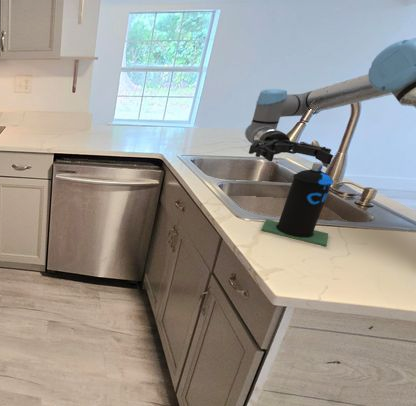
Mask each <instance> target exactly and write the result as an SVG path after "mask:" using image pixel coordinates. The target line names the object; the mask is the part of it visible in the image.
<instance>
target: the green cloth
mask: <svg viewBox="0 0 416 406" xmlns="http://www.w3.org/2000/svg"><path fill="white" fill-rule="evenodd" d="M278 223H279V221H277V220H272V219H268V218H266V219H265V220H264V223H263V224H262V227H261V229H260V230H261V232H265V233H269V234H274V235H278V236H282V237H285V238H289V239H294V240H299V241H302V242H307V243H311V244H314V245H318V246H321V247H327V245H328V240H329V239H328V238H329V232H325V231H320V230H315V229H314V231H313V233H314V235H313V236H311V237H296V236H292V235H288V234H285V233H283V232H281V231H279V230H278V229H277V227H276V225H277V224H278Z"/></svg>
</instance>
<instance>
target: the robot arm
mask: <svg viewBox="0 0 416 406" xmlns="http://www.w3.org/2000/svg"><path fill="white" fill-rule="evenodd" d="M327 91H328V92H327ZM391 95H393V96H394V97H395V99H396V100H397V101H398V103H399V104H400V105H401V106H404V107H414V108H415V109H416V37H413V38H410V39H402V40H399V41H396V42H393V43H391V44H390V45H388V46H386V47H385V48H383V49H382V50H381V51H380V52H379V53H377V55H376V56H375V57H374V59H373V60H372V62H371V65H370V67H369V69H368V72H367V74H364V75H360V76H357V77H354V78H350V79H347V80H343V81H340V82H337V83H334V84H333V83H332V84H330V85H327V86H324V87H320V88H317V89H314V90H310V91H307V92H302V93H296V94H295V93H293V94H288V90H286V89H281V88H277V89H276V88H265V89H262V90H261V91H260V92H259V95H258V96H257V100H256V104H255V109H254V112H253V117H252V120H251V123H250V124H249V125H248V126H247V127H246V129H245V131H244V137H245V138H246V140H247V141H248V142H249V143H251V144H250V146H249V149H248V154H250V155H253V154H254V153H255V157H256V158H260V157H263V158H264V159H265V160H267V161H268V162H273V160H274V156H275V155H279V154H282V153H283V154H284V153H287V154H292V155H295V154H301V155H304V156H309V157H314V158H315V159H316V160H318V161H319V162H320V163H323V164H325V165H329V166H330V165H331V162H332V160H333V156H334V155H333V154H332V153H331V152H332V148H328V147H326V146H319V145H316V144H311V143H307V142H305V141H300V142H298V141H292V140H291V139H290V137H289V135H288V134H286V133H285V132H283V131H280V130H279V129H278V125H279V123H280V119H281V118H283V117H284V118H285V117H304V116H303V114H304V113H305V112H306V110H308V109H309V108H310V109H312V110H313V109H314V108H315V109H316V108H317V107H318V108H317V109H316V110H315V109H314V110H315V112H314V113H313V112H312V113H313V115H318V114H320V113H321V112H322V111H327V110H331V109H335V108H336V109H337V108H339V107H345V106H349V105H354V104H358V103H361V102H365V101H370V100H374V99H380V98H382V97H387V96H391ZM319 96H320V97H319ZM314 100H315V101H314ZM313 101H314V102H313ZM312 102H313V103H312ZM311 103H312V104H313V105H312V104H311ZM310 105H311V106H310ZM309 106H310V107H309ZM308 107H309V108H308ZM307 108H308V109H307ZM310 109H309V110H310ZM313 115H312V116H313Z"/></svg>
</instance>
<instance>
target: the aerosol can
mask: <svg viewBox="0 0 416 406" xmlns="http://www.w3.org/2000/svg"><path fill="white" fill-rule="evenodd" d="M323 167H324V163H323V162H321V161H314V162H313V163H312V165H311V169H305V170H300V171H299V172H297V173H295V174H293V175H292V177H293V179H292V182H291V185H290V188H289V191H288V194H287V197H286V200H285V203H284V205H283V209H282V211H281V215H280V217H279V220H278V222H279V223H278V224H277V225H276V227H277V229H278V230H279V231H281V232H283V233H285V234H288V235H292V236H296V237H311V236H313V235H314V233H313V231H314V230H315V229H316V226H317V224H318V221H319V218H320V215H321V213H322V210H323V208H324V205H325V203H326V200H327V197H328V195H329V193H330V191H331V187H332V185H333V184H334V183H335V181H334V179H332V177H331V176H330V174H328V173H326V172H324V171H322V169H323Z"/></svg>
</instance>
